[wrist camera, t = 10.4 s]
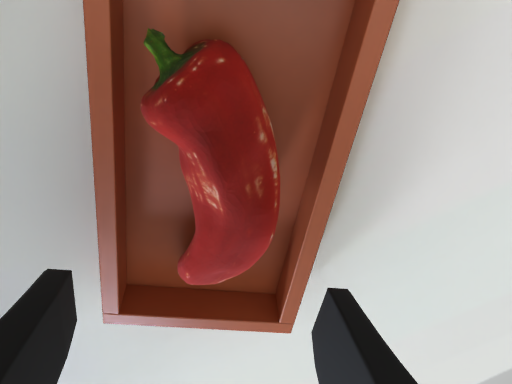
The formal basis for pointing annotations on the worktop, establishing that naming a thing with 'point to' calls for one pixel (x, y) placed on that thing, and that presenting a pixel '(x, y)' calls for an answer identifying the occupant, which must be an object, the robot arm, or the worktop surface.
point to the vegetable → (217, 154)
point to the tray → (167, 152)
